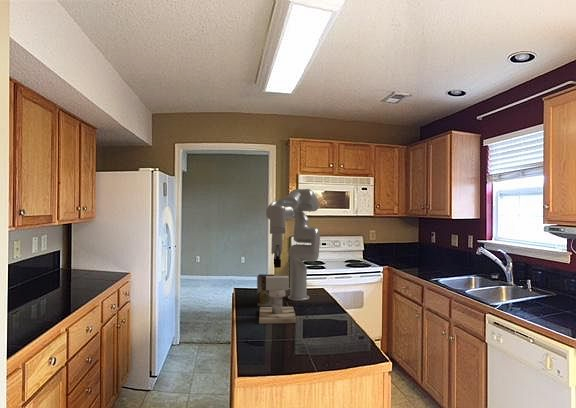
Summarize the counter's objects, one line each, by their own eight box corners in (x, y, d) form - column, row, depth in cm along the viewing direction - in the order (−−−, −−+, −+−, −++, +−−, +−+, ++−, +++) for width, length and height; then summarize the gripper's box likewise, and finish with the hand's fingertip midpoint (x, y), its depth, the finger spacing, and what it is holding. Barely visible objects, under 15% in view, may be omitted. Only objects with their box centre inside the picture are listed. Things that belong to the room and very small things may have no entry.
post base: (260, 311, 179) (260, 291, 179) (293, 310, 180) (293, 291, 180) (259, 323, 159) (259, 301, 159) (296, 323, 160) (296, 301, 160)
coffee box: (275, 303, 194) (275, 274, 194) (273, 306, 188) (273, 276, 188) (258, 302, 195) (259, 273, 195) (256, 306, 188) (256, 276, 189)
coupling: (265, 293, 173) (266, 275, 174) (288, 293, 174) (288, 275, 174) (265, 298, 163) (265, 279, 163) (289, 298, 164) (289, 279, 164)
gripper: (269, 230, 179) (269, 263, 178) (269, 231, 161) (269, 268, 161) (284, 230, 179) (284, 263, 179) (286, 231, 162) (285, 268, 161)
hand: (277, 266), depth 170 cm, fingers open, 9 cm apart
